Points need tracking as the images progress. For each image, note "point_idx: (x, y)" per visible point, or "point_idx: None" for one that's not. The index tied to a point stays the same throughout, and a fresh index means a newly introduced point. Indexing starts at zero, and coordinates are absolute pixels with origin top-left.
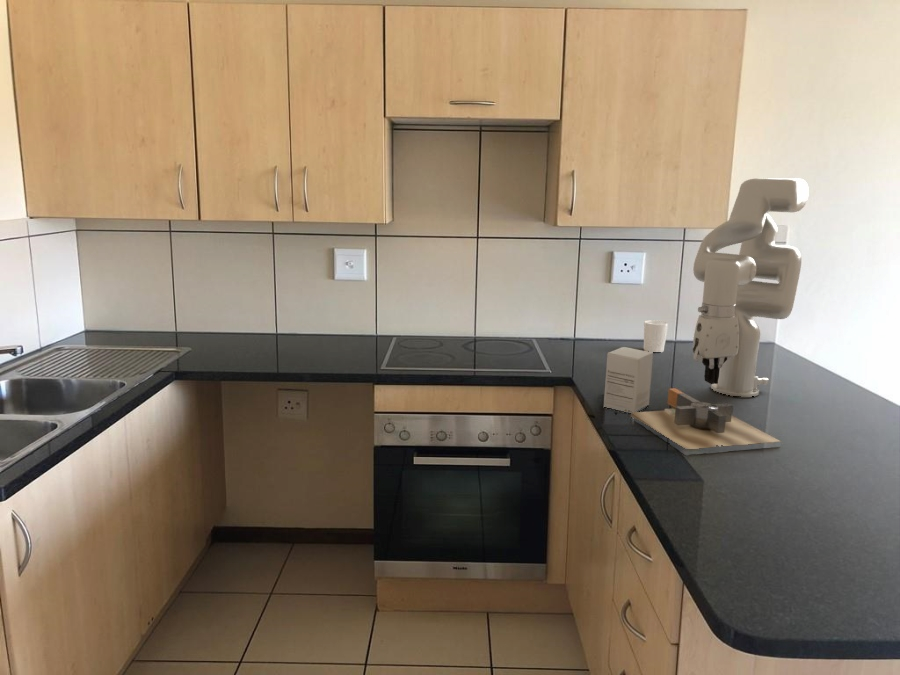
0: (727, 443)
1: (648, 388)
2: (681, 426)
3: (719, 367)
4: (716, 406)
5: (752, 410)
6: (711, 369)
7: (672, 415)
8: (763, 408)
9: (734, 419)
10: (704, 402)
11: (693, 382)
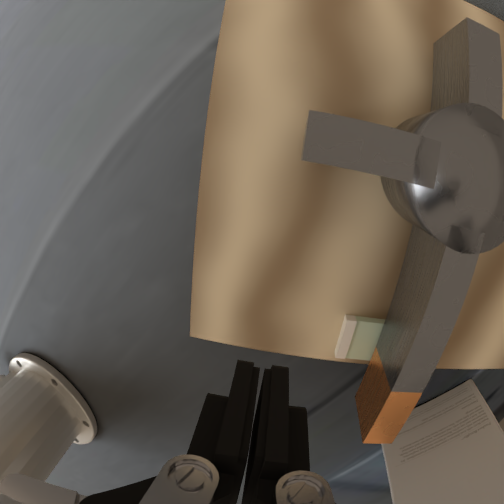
0: (450, 7)
1: (404, 467)
2: None
3: (196, 465)
4: (424, 141)
5: (67, 285)
6: (281, 471)
7: None
8: (36, 284)
9: (222, 186)
10: (432, 232)
11: (116, 467)
